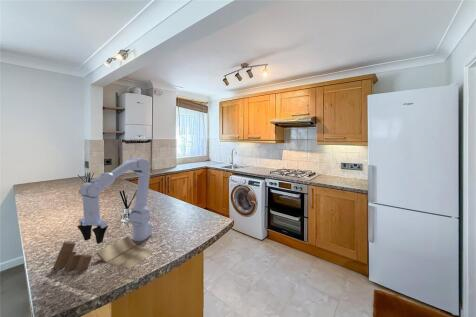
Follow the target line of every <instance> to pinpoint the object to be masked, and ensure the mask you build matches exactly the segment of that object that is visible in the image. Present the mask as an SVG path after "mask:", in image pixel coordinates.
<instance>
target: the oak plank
mask: <svg viewBox="0 0 476 317" xmlns="http://www.w3.org/2000/svg"><path fill="white" fill-rule="evenodd" d="M136 246H138V245H137V244H136V243H135V241H134V240H133V239H131V238H130V237H129V236H125V237H124V238H122V239H119V240H118V241H116V242H114V243H111V244H110V245H108V246H106V247H104V248H102V249H100V250H98V251H96V252H95V254H96V256H98V258H99V259H100V260H101V261H102V263H107V264H108V262H110V261H112V260H114V259H115V258H117V257H119V256H121V255H122V254H124V253H126V252H128V251H129V250H131V249H133V248H134V247H136Z"/></svg>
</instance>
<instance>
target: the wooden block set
mask: <svg viewBox="0 0 476 317" xmlns="http://www.w3.org/2000/svg"><path fill="white" fill-rule="evenodd" d="M76 244H77V243H76V242H74V241H69V240H68V241H63V243H62V246H61V248H60V250H59V252H58V255H57V257H56V260H55V262H54V265H53V267H52V269H53V270H60V269H62V268H64V270H65V271H67V272H69V271H72V270H73V269H75V270H74V271H76V272H78V273H80V272H82V271H85V270H86V269H89V266H90V264H91V260H92V258H93V256H92V255H91V254H85V253H84V254H79V253H78V254H77V251H73V250H74V249H75V247H76Z"/></svg>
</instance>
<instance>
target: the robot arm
mask: <svg viewBox="0 0 476 317" xmlns="http://www.w3.org/2000/svg"><path fill="white" fill-rule="evenodd" d="M150 165H151V164H150V162H149V161H148V159H146V158H142V157H141V158H137V157H130V158H128V159H126V160H125V161H124V162H123V163H121V164H120V165H119V166H117V167H115V169H113V170H111V171H110V172H107V171H106V172H102V173H100V174H99V176H97V177H96V178H93V179H91V180H90V181H89V182H85V183H82V185H81V186H80V188H79V190H78V193H79V195H80V196H81V197H82V207H83V210H82V212H83V217H81V218H79V219H78V224H79V225H77V229H78V230H79V231H80V233H81V234H82V237H83V239H84V241H86V242H87V241H89V240H91V237H92V232H93V234H94V237H95V241H96V244H97V245H99V244H101V243H103V241H104V237H105V233H106V231H107V229H108V227H109V225H107V223H108V222H106V221H105V220H104V219H102V218H101V209H100V195H101V194H102V191H103V190H105V189H106V188H108V187H109V186H111V185H113V183H115V179H117V178H118V177H120V176H121V175H124V174H125V173H127V172H128V171H133V173H135V174H137V176H138V178H137V187H136V188H137V189H136V195H135V204H134V206H133V207H131V208H130V209H131V210H130V213H129V215H128V220H129V222H131V225H132V226H131V227H132V241H133V242H141V241H145V240H146V239H147V238H149V237H151V236H153V226H152V225H153V224H152V222H151V221H150V220H151V213H150V211H151V210H150V209H149V207H148V206H147V203H148V194H149V186H150V179H151V171H150ZM93 226H94V228H92V227H93Z"/></svg>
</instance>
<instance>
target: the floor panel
mask: <svg viewBox="0 0 476 317" xmlns="http://www.w3.org/2000/svg"><path fill="white" fill-rule="evenodd" d="M157 251H158V250H157V249H153V248H149V247H144V246H140V245H137V246H135V247H134V248H132V249H130V250H128V251H127V252H125V253H123V254H121V255H120V256H118V257H116V258H114V259H113V260H111V261H109V262H107V264H110V265H113V266H116V267H120V268H123V269H127V270H130V269H131V268H133V267H134V266H136V265H137V264H139V263H140V262H142V261H143V260H145V259H146V258H148V257H149V256H150V255H153V254H154V253H155V252H157Z"/></svg>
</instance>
